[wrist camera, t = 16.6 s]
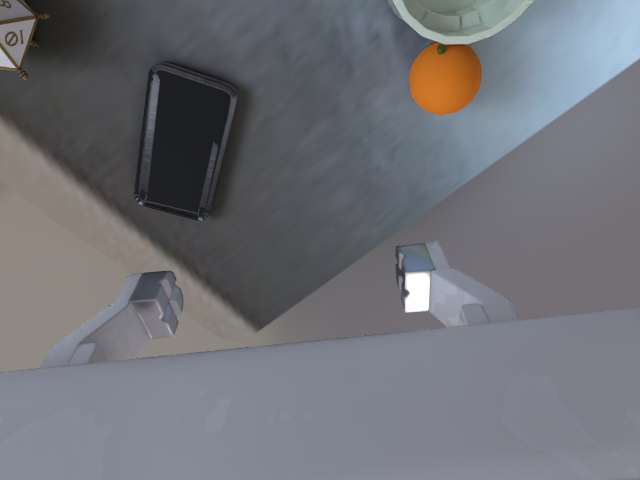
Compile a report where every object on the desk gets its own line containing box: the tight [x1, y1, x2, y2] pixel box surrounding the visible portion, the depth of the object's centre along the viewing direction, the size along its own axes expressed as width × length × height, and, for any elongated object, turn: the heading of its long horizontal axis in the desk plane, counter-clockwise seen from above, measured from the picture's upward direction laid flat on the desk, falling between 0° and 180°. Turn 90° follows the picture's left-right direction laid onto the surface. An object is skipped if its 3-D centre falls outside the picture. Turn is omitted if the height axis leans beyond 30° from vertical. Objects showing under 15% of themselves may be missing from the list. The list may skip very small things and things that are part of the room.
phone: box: [134, 62, 238, 221], centre depth 42 cm, size 8×1×15 cm
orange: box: [409, 42, 481, 115], centre depth 36 cm, size 6×6×6 cm
